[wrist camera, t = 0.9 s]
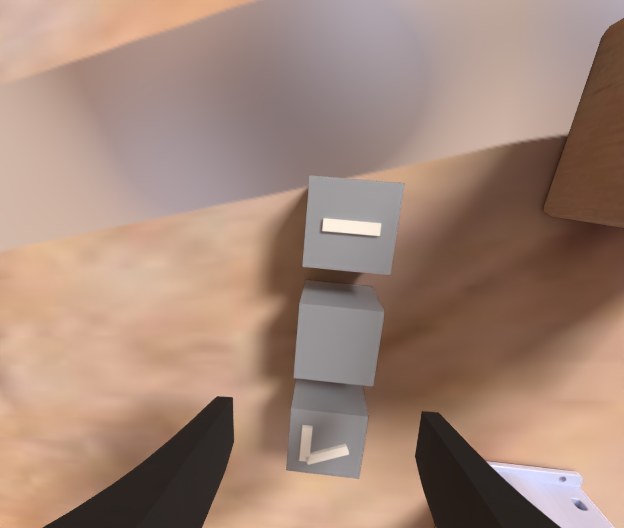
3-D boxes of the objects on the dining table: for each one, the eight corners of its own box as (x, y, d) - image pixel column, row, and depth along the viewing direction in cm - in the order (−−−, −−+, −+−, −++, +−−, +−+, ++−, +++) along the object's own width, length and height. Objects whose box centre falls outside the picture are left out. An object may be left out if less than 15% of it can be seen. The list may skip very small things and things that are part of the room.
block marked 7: (360, 370, 21) (369, 419, 16) (352, 422, 22) (359, 481, 17) (298, 364, 21) (290, 410, 16) (294, 416, 22) (285, 473, 18)
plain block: (371, 285, 19) (384, 311, 15) (363, 346, 20) (373, 386, 16) (305, 279, 20) (299, 303, 15) (300, 339, 21) (293, 378, 16)
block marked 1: (385, 186, 18) (405, 183, 13) (375, 257, 19) (391, 276, 14) (313, 180, 18) (309, 174, 13) (308, 250, 19) (301, 267, 14)
